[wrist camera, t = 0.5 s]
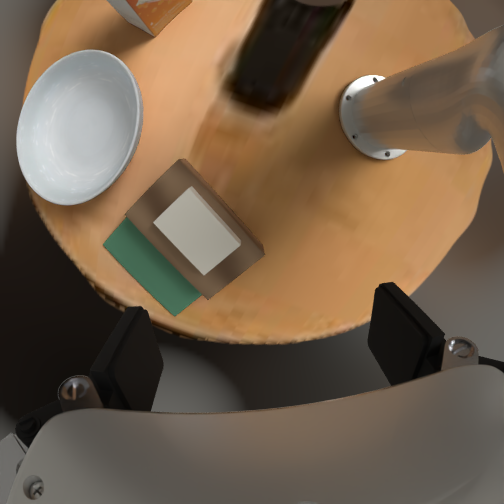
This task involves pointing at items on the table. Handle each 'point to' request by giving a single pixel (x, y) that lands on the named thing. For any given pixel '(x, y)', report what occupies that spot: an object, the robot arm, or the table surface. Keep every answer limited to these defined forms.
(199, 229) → the light grey flat block
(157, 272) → the mat
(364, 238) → the table surface
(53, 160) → the serving bowl
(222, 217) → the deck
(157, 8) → the small box
